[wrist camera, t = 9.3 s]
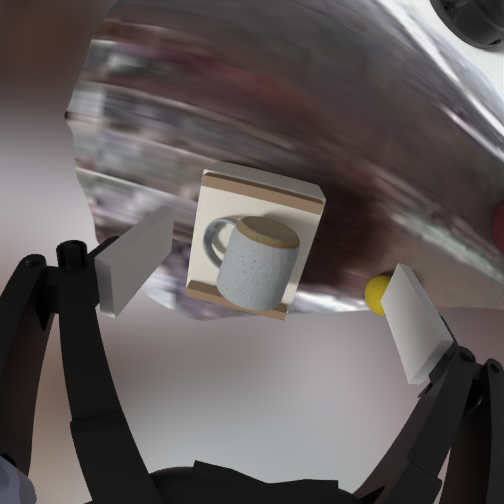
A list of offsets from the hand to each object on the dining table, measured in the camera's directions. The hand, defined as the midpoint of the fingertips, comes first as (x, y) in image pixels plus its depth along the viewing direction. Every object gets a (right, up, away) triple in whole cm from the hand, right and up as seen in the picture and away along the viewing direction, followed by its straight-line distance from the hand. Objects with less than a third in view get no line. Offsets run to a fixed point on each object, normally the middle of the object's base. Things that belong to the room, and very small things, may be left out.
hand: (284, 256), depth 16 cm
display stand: (-1, +4, +26) cm, 26 cm away
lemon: (+18, -4, +28) cm, 34 cm away
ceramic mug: (-2, +1, +19) cm, 19 cm away
